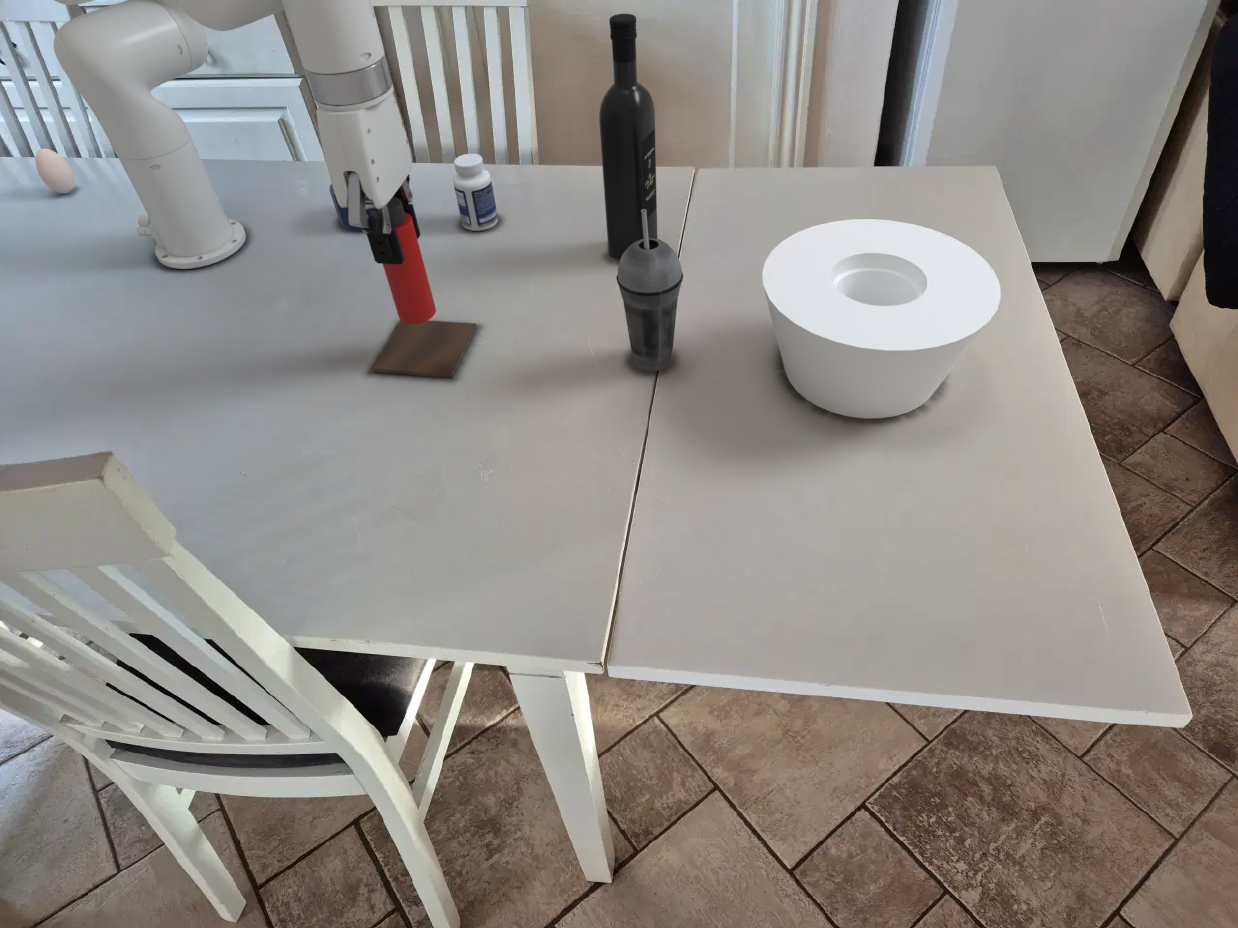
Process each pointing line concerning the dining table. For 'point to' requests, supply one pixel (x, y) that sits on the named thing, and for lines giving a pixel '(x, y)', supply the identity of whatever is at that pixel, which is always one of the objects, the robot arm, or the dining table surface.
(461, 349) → the coaster
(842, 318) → the recessed white cone
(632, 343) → the beverage cup
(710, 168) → the dining table surface
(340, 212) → the blue cup
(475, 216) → the pill bottle
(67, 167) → the egg
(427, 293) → the sauce bottle
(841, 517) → the dining table surface
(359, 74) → the robot arm
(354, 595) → the dining table surface
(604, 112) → the wine bottle
